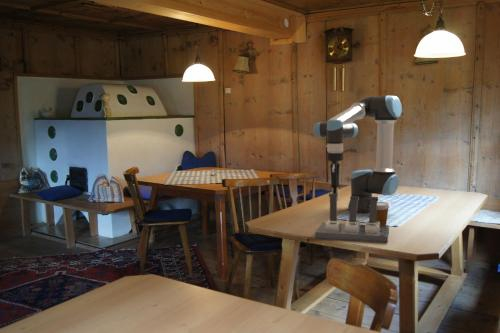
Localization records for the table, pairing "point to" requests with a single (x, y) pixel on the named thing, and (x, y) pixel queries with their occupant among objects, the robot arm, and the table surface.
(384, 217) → the disposable coffee cup
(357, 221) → the breaker panel
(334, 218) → the handle
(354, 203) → the middle handle
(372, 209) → the end handle
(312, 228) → the table surface
